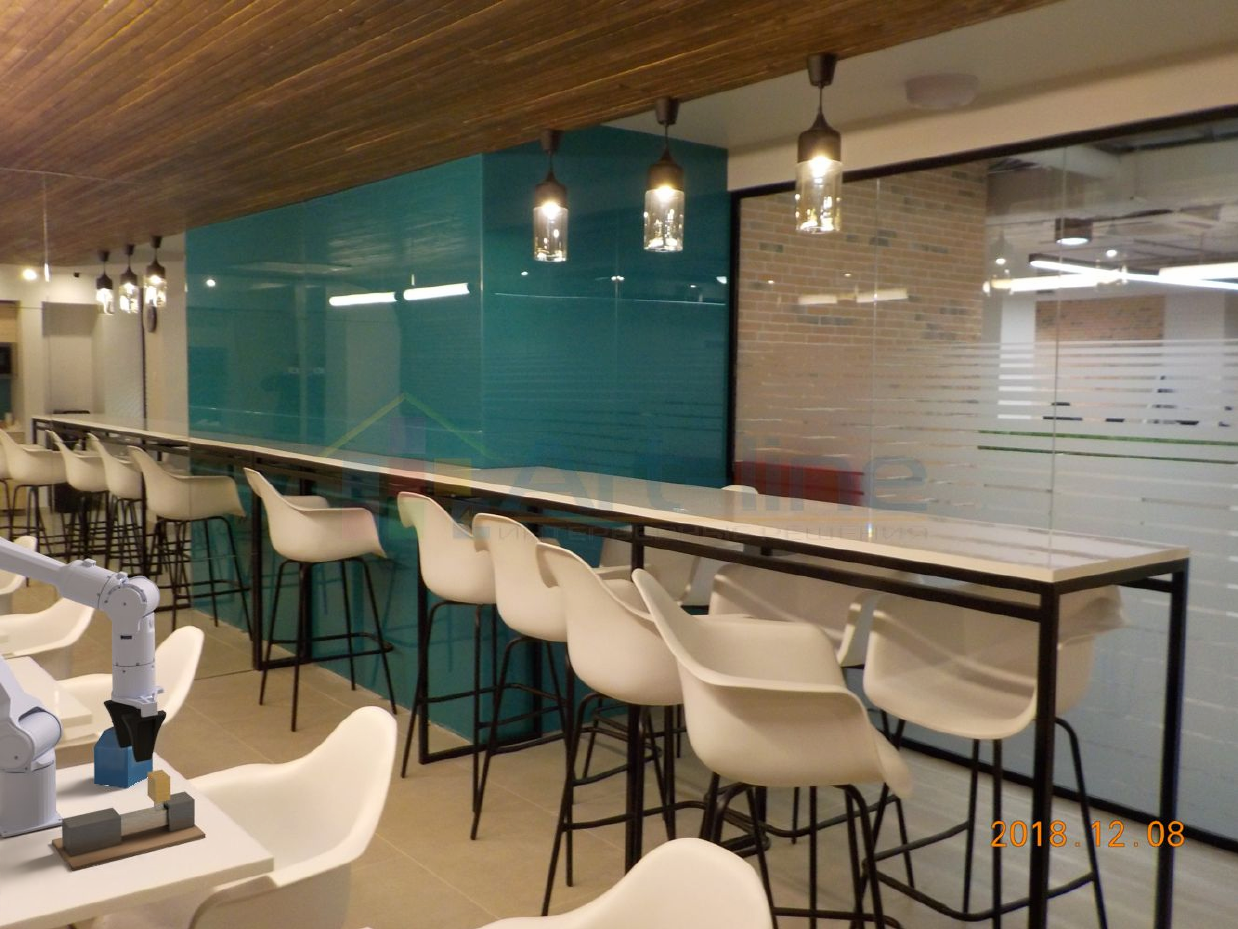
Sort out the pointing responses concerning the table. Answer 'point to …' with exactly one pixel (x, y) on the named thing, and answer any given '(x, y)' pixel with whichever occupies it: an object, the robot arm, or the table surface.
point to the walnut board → (130, 846)
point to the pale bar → (153, 815)
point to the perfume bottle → (117, 763)
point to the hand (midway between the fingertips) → (135, 753)
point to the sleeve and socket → (118, 826)
